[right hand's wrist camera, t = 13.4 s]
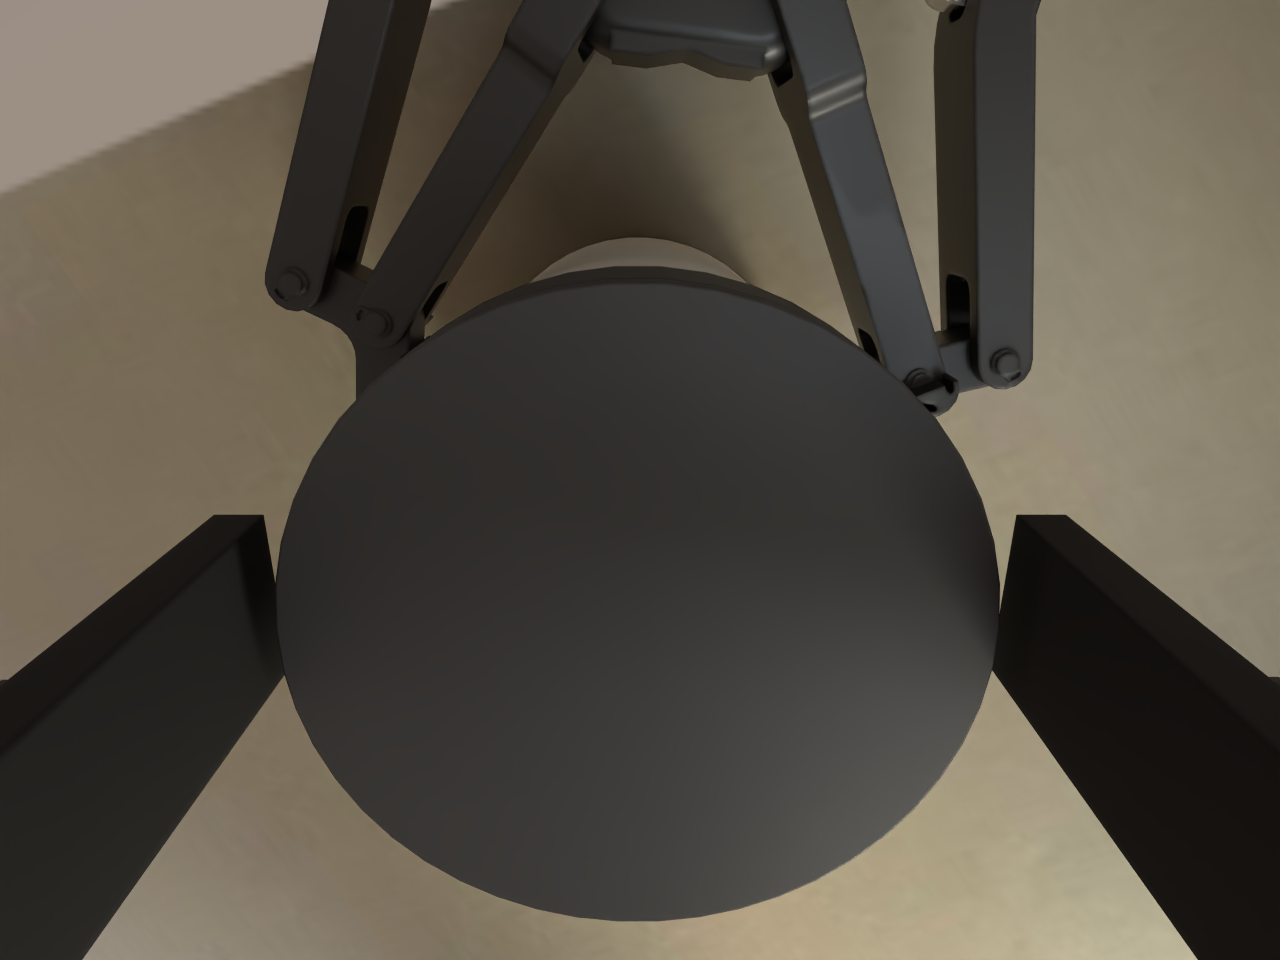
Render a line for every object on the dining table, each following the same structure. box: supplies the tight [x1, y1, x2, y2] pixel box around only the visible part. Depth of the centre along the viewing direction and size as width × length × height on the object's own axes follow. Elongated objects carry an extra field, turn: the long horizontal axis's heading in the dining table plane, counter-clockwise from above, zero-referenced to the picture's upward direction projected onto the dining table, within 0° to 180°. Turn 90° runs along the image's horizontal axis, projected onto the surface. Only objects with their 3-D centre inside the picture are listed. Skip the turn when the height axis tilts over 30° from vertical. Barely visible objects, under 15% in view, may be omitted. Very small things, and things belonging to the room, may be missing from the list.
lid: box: [275, 266, 1000, 921], centre depth 13 cm, size 10×10×2 cm
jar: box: [530, 238, 748, 284], centre depth 19 cm, size 10×10×15 cm
